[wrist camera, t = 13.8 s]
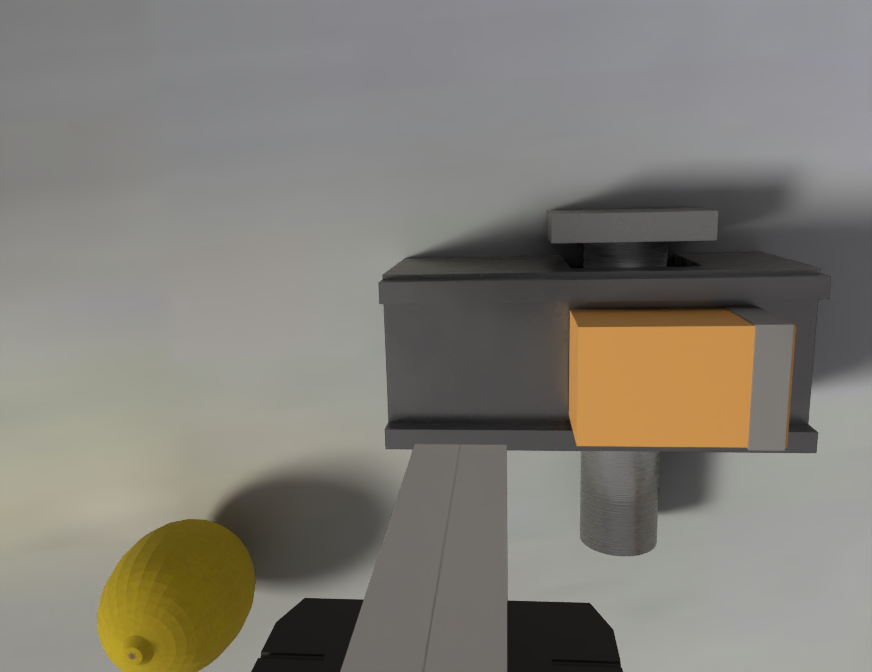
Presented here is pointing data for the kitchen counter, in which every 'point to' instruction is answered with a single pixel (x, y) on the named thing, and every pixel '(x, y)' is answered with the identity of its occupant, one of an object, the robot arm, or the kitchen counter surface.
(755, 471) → the kitchen counter surface
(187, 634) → the lemon
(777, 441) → the block
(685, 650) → the kitchen counter surface
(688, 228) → the pin
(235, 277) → the kitchen counter surface
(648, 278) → the block
